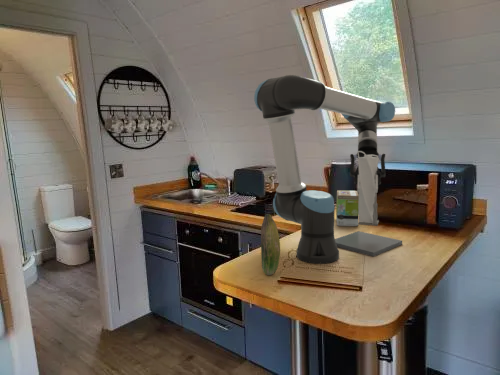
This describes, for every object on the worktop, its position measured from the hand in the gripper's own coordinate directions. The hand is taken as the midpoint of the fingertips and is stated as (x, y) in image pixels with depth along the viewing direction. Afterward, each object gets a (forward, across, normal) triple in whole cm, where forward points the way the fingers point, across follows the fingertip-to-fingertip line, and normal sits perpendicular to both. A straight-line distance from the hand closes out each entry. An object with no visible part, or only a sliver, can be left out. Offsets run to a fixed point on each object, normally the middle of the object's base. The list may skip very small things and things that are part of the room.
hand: (367, 190), depth 145 cm
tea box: (-11, +9, -42) cm, 45 cm away
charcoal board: (+14, 0, -18) cm, 22 cm away
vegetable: (+40, +30, +9) cm, 51 cm away
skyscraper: (+7, 0, -12) cm, 14 cm away
